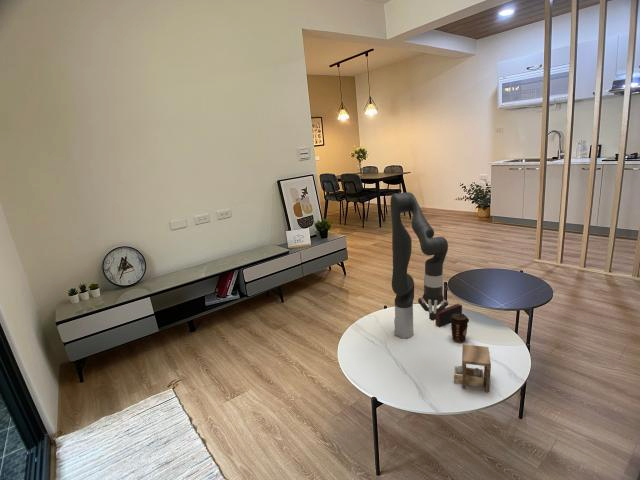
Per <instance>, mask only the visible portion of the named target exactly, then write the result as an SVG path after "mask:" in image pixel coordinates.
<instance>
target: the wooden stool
mask: <svg viewBox="0 0 640 480" xmlns="http://www.w3.org/2000/svg"><path fill="white" fill-rule="evenodd" d="M490 356H491V355H490V350H489V346H483V345H481V346H480V345H473V344H463V343H462V355H461V357H462V358H461V359H462V362H461V366H462V367H463V384H461V387H462V389H464V390H466V387H467V385H466V367H467V365H471V366H472V365H473V366H479V367H480V366H481V367H484V368H483V376H484V383H485V392H486V393H488V392H490V389H491V371H492V363H491V357H490Z"/></svg>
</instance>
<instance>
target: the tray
mask: <svg viewBox="0 0 640 480" xmlns="http://www.w3.org/2000/svg"><path fill="white" fill-rule="evenodd" d="M453 375H454V382H453V383H455V384H459V385H463V367H462V365H459V366H458V365H454V374H453ZM484 382H485V377H484V369H480V368H478V367H476V368H475V367H474V368H473V367H467V366H466V386H475V387H483V388H484Z"/></svg>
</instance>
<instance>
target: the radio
mask: <svg viewBox="0 0 640 480" xmlns="http://www.w3.org/2000/svg"><path fill="white" fill-rule="evenodd" d="M440 304H441V305H442V302H441V303H440ZM440 304H439V305H440ZM456 313H459V314H460V313H462V314H463V305H462V304H459V303H453V304H452V305H450V306H446V307H445V308H444V309H443V310H442V311H441V312H440V313H436V320H435V326H436V327H437V328H442V327H444V326H445V327H446V326H447V325H451V321H450V318H451V317H452V315H453V314H456Z"/></svg>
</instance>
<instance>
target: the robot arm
mask: <svg viewBox="0 0 640 480" xmlns="http://www.w3.org/2000/svg"><path fill="white" fill-rule="evenodd" d="M389 201H390V202H389V205H390V214H391V215H390V216H391V231H392V235H391V236H392V238H391V244H392V245H391V246H392V247H391V249H392V274H391V275H392V276H391V289H392V291H393V293H394V294H395V295H396V296H395V297H394V322H393V323H394V336H397V337H398V338H401V339H409V338H411V337H413V336H414V299H415V281H414V278H413V277H412V275H411V274H409V273H408V269H409V264H410V261H411V255H412V251H413V250H412V247H413V246H412V243H413V242H412V237H411V235H410V234H409V233H410V232H408V230H407V229H406V228H405V226H404V225H403V222H402V218H401V217H402V216H401V214H402V213H411V214H412V218H411V228H412V231H413V232H414V233H415V235H416V237H417V238H418V242H419V246H420V250H421V253H423V254H424V255H425V256H427V257H428V256H432V257H431V258H428V259H426V261H424V262H425V263H424V277H423V278H424V279H423V295H422V297H418V299H417V302H418V304H419V305H420V307H421V308H422V309H423V310H424V311H425V312H428V314H429V315H428V318H429V320H430V321H432V322H434V321H436V313H440V312H441V311H442V310H443V309H444V308H447V307H449V300H446V299H445V297H444V295H443V293H444V292H443V291H444V290H443V288H444V277H443V276H444V274H443V273H444V272H443V271H444V268H443V267H444V262H445V259H446V257H447V253H448V250H449V244H448V243H449V242H448V240H447V239H446V238H445V237H443V236H435V231H434V228H433V227H432V226H431V225H430V223H429V222H428V220H427V219H426V217H425V215H424V213H423V211H422V209H421V206H420V204H419V203H418V200H417V198H416V196H415V195H414V193H412V192H408V191H407V192H399V193H393V194H392V195H391V196H390V200H389ZM440 303H442V304H441V305H440ZM439 305H440V306H439ZM438 306H439V307H438Z"/></svg>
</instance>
